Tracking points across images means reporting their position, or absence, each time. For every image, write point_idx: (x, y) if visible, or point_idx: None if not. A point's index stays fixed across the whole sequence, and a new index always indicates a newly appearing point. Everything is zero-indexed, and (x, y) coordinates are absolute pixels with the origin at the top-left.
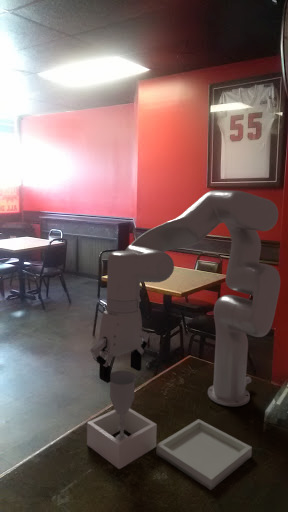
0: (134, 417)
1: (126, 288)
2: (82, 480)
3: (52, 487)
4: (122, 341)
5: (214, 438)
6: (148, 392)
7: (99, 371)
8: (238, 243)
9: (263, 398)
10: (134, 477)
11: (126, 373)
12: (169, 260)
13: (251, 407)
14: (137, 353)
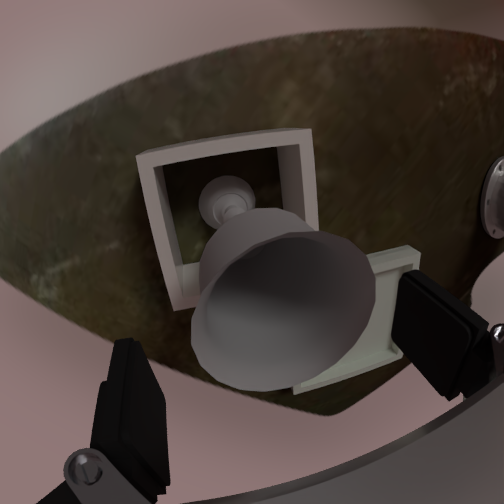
0: (299, 198)
1: None
2: (89, 265)
3: (34, 252)
4: None
5: (395, 298)
6: (424, 55)
7: (96, 407)
8: None
9: None
10: (192, 310)
11: (354, 261)
12: None
13: (492, 246)
14: (461, 390)
